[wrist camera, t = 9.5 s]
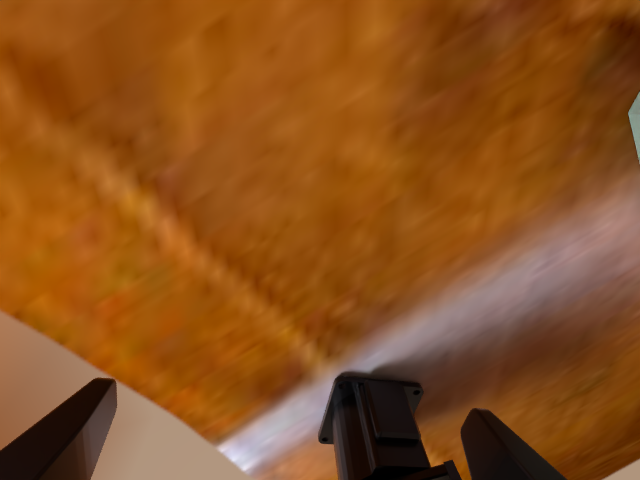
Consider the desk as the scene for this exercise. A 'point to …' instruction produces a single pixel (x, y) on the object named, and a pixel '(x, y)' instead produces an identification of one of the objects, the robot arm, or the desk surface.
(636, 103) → the bead
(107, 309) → the desk surface
